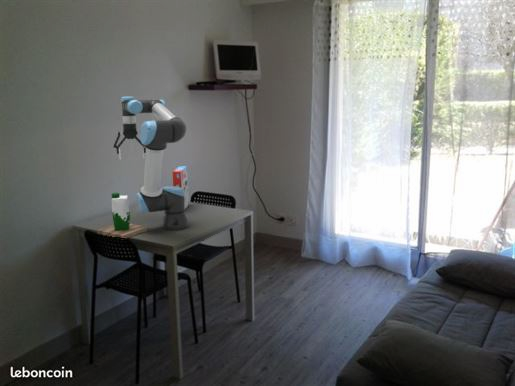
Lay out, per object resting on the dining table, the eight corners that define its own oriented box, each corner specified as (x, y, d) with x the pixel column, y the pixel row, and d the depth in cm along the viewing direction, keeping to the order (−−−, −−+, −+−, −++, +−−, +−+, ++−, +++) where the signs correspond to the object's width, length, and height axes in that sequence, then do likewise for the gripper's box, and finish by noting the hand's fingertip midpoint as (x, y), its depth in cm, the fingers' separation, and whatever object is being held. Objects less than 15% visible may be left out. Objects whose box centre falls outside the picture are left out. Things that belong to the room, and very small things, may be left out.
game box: (181, 205, 308) (179, 166, 302) (189, 205, 308) (187, 166, 302) (174, 212, 288) (172, 171, 282) (182, 212, 288) (180, 171, 282)
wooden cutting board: (147, 230, 251) (147, 227, 250) (122, 239, 236) (122, 235, 235) (122, 225, 261) (122, 222, 261) (97, 233, 246) (97, 230, 246)
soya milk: (114, 227, 251) (111, 192, 247) (131, 225, 253) (128, 191, 249) (113, 231, 243) (110, 195, 239) (130, 230, 245) (127, 194, 241)
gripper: (151, 122, 271) (153, 157, 276) (107, 123, 266) (110, 158, 270) (151, 123, 264) (153, 158, 269) (106, 124, 258) (109, 160, 263)
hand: (132, 158), depth 269 cm, fingers open, 13 cm apart
